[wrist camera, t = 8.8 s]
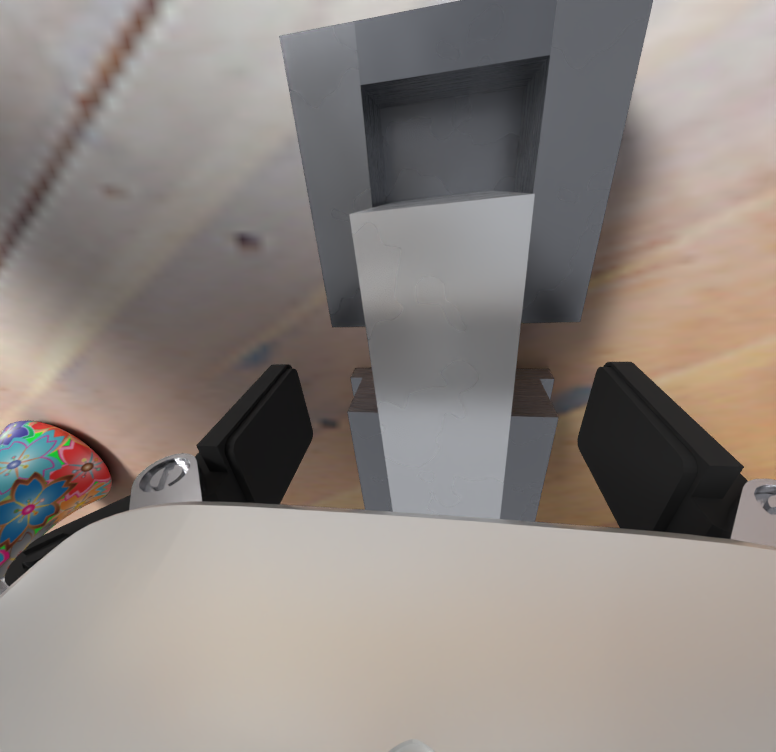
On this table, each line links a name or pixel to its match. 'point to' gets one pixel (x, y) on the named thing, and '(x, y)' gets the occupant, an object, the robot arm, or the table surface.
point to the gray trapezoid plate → (444, 342)
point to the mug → (43, 483)
